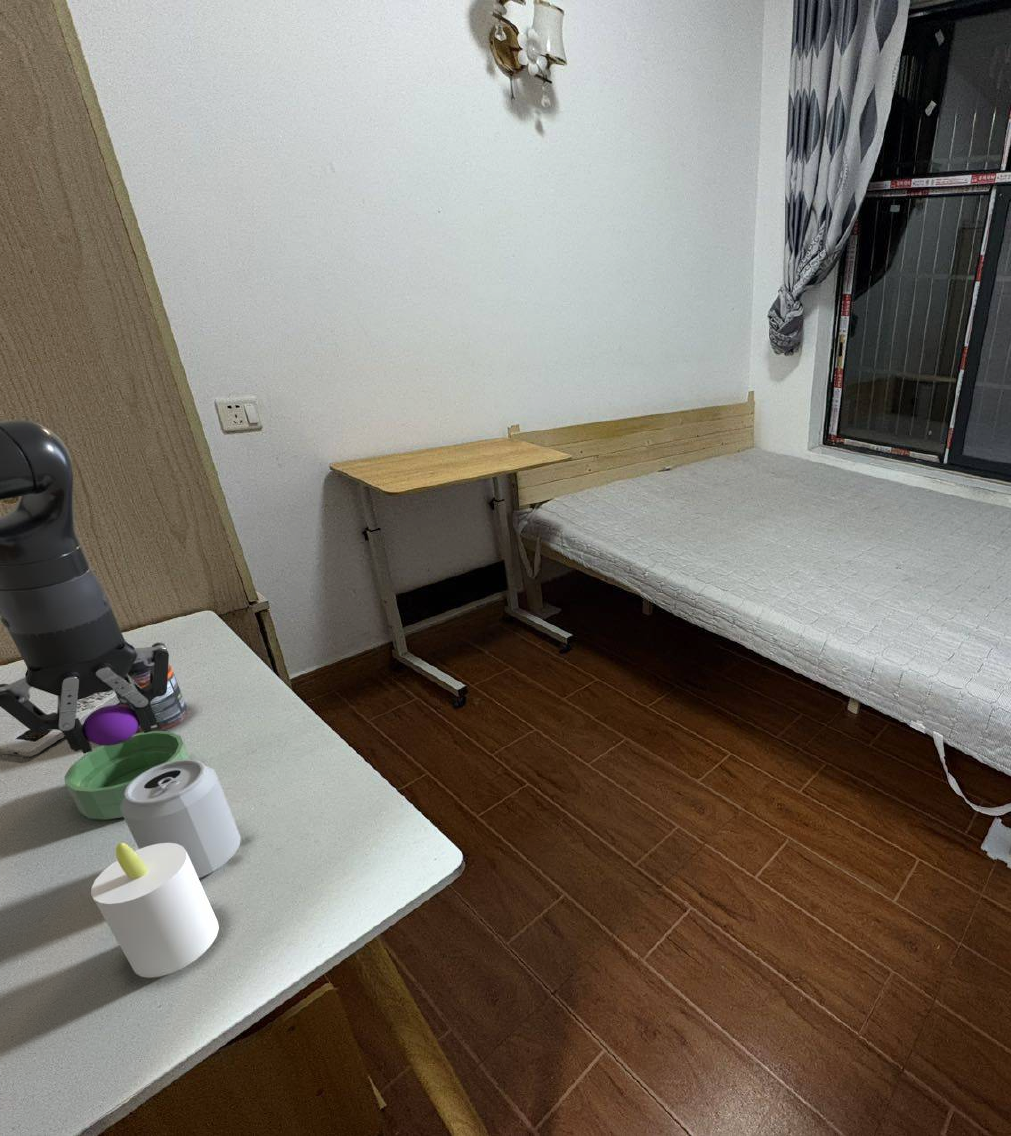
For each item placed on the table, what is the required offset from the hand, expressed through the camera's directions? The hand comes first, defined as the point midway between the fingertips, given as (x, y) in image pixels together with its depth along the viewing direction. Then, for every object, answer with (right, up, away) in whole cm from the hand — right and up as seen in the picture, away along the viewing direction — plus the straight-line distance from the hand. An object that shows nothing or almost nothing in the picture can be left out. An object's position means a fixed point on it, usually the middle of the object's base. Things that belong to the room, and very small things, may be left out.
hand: (117, 738), depth 72 cm
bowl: (-1, -7, +3) cm, 8 cm away
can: (+14, -13, -4) cm, 19 cm away
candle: (+19, -17, -12) cm, 28 cm away
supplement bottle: (-8, -2, +14) cm, 17 cm away
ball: (0, +2, -1) cm, 2 cm away
